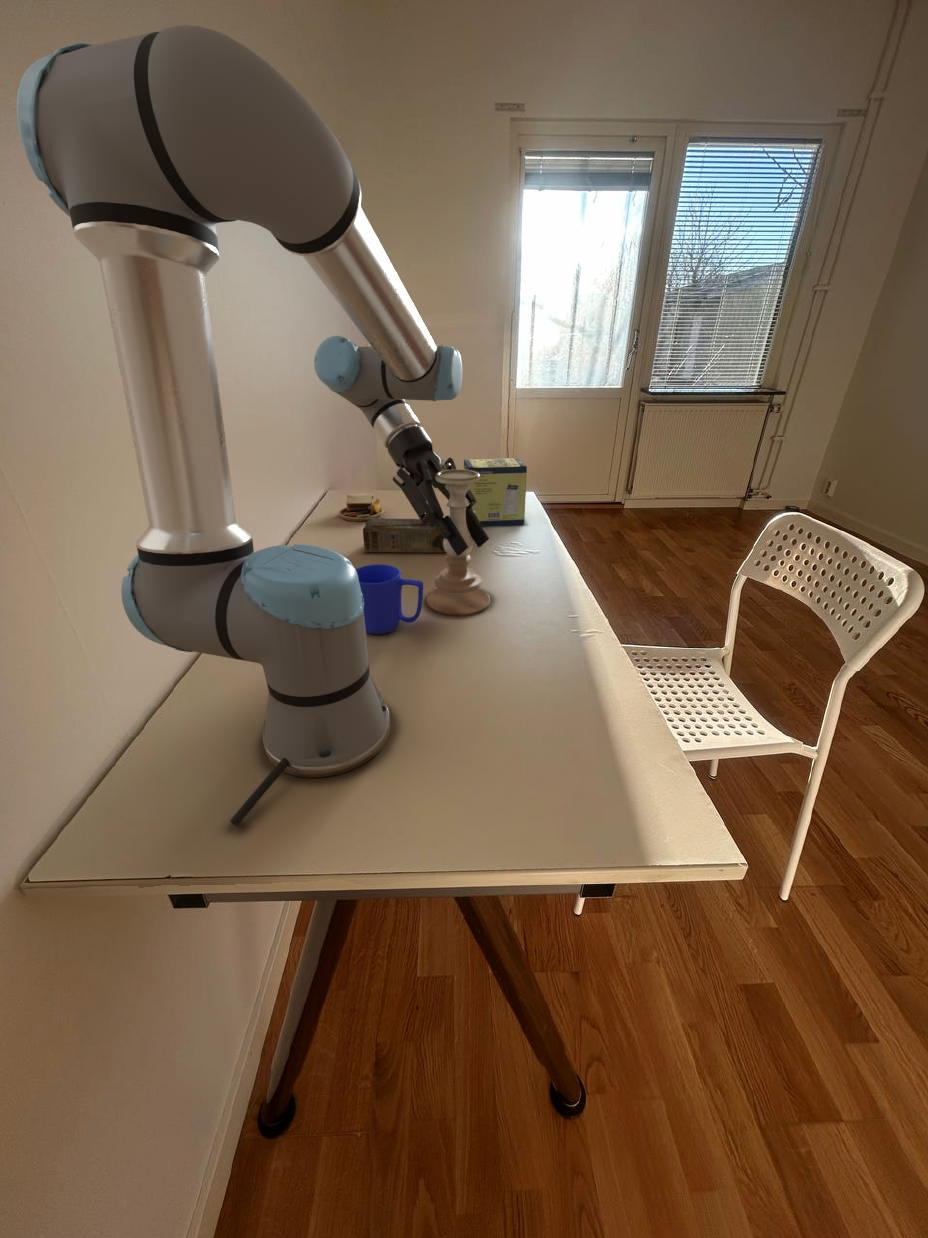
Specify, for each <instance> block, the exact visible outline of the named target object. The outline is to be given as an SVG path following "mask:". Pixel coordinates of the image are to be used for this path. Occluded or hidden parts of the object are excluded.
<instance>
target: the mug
mask: <svg viewBox="0 0 928 1238" xmlns="http://www.w3.org/2000/svg"><path fill="white" fill-rule="evenodd" d="M355 569H356V572H357V574H358V578H359V583H360V588H361V592H362V595H363V598H364V609H363V610H364V620H365V630H366V633H367V634H371V635H383V634H389V633H390V632H393V631H394V630H396V629H397V627H398V626H399V625H400V621H401V622H404V623H414V622H416V621H417V620H418V619H419V616H420V615H421V612H422V609H423V602H424V601H423V600H424V581H421V580H418V579H411V578H410V579H409V578H403V577H402V573H401V570H400V569H399V568H398V567H396V566H393V565H390V564H383V563H381V564H378V563H377V564H367V565H363V566H360V567H358V568H355ZM404 586H414V587H417V590H418V591H417V593H418V594H417V607H416V612H415V614H414V615H413V616H411V617H410V616H409V617H407V616H405V615H404V614H403V610H402V607H403V605H402V593H403V592H402V591H403V587H404Z"/></svg>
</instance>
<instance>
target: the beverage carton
mask: <svg viewBox="0 0 928 1238" xmlns="http://www.w3.org/2000/svg"><path fill="white" fill-rule="evenodd" d="M429 524H430V523H427V524H424V523H422V521H421V520H420V518H394V517H393V518H391V517H390V518H389V517H387V518H386V517H378V518H369V519H368V520H367V521H366V522H365V525H364V527H363V528H362V537H363V546H364V553H414V554H415V553H418V554H419V553H421V554H422V553H425V554H428V553H429V554H433V553H435V554H440V553H441V554H443V553H444V554H445V553H446V551H445V550H444V547H443V540H444V538H443V536H442V535H441V533H440V532H439V530H438V528H437V527H436V525H435V526H434V527H431V526H430V525H429Z"/></svg>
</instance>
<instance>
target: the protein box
mask: <svg viewBox="0 0 928 1238" xmlns="http://www.w3.org/2000/svg"><path fill="white" fill-rule="evenodd" d="M463 469H464V470H472V471H475V472H478V473H479V474H480V480H479V481H478V482H476V483H473V484H470V490H471V492H472V494H473V495H474V497H475V498H476V500H477V502H476V503H475V504H474V506H473V507H472V509H473V511H474V513H475V514H476V516H477V517H478V519H479V521H480V523H481V524H480V525H481V527H498V526H524V525H525V515H526V495H527V473H528V466H527V465H526V464H524V463H523V462H522V460H521V459H520V458H519V457H517V458H516V457H514V458H510V457H509V458H486V459H485V458H484V459H483V458H482V459H463Z"/></svg>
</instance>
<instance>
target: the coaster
mask: <svg viewBox="0 0 928 1238" xmlns="http://www.w3.org/2000/svg"><path fill="white" fill-rule="evenodd" d="M426 604H427V606H428V607H429V609H431V610H432V611H434V612H435V613H439V614H442V615H447V616H455V617H457V616H458V617H459V616H469V615H474V614H478V613H480V612H483V611H484V610H486V609H487V608H488V607H489V606H490V604H491V598H490V595H489V594H488V592H486V591H485V590H482V589H480V588H478V589H477V590H475V591H472V592H468V593H448V592H444V591H441V590H439V589H438V588H437V589H435V590H433V591H431V592H430V593H429V594H428V596H427V597H426Z"/></svg>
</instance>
